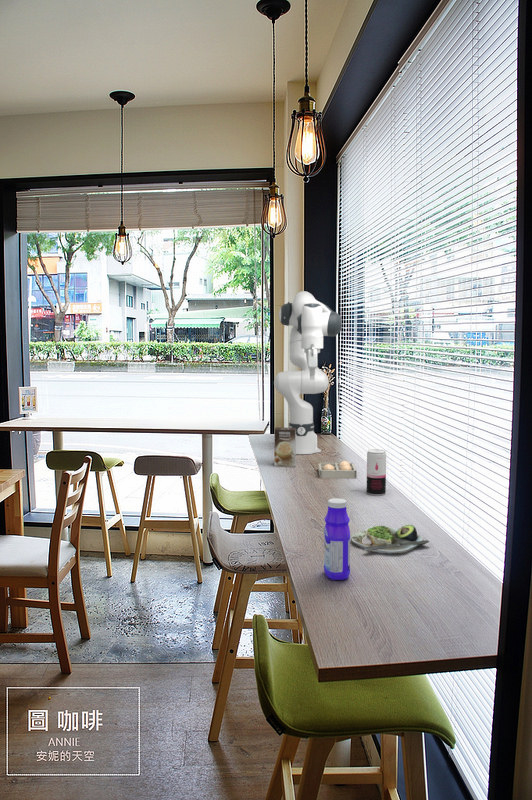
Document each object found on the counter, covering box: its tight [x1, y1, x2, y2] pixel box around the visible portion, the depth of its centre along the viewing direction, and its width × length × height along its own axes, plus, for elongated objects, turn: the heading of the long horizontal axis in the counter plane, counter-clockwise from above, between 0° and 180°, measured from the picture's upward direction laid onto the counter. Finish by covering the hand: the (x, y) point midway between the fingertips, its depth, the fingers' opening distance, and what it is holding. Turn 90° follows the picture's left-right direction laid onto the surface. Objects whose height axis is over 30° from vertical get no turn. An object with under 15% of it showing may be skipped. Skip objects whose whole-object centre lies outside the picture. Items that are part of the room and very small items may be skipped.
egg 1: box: [323, 464, 335, 470], centre depth 222 cm, size 5×5×5 cm
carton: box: [318, 462, 357, 480], centre depth 225 cm, size 14×14×4 cm
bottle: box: [323, 497, 351, 581], centre depth 128 cm, size 7×6×17 cm
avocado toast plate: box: [350, 524, 430, 555], centre depth 148 cm, size 19×18×5 cm
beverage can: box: [366, 449, 387, 496], centre depth 198 cm, size 7×7×15 cm
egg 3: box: [340, 464, 352, 470], centre depth 221 cm, size 5×5×5 cm
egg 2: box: [339, 460, 350, 466], centre depth 228 cm, size 5×5×5 cm
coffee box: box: [273, 426, 297, 468], centre depth 243 cm, size 9×6×16 cm
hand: (312, 378), depth 229 cm, fingers open, 8 cm apart
